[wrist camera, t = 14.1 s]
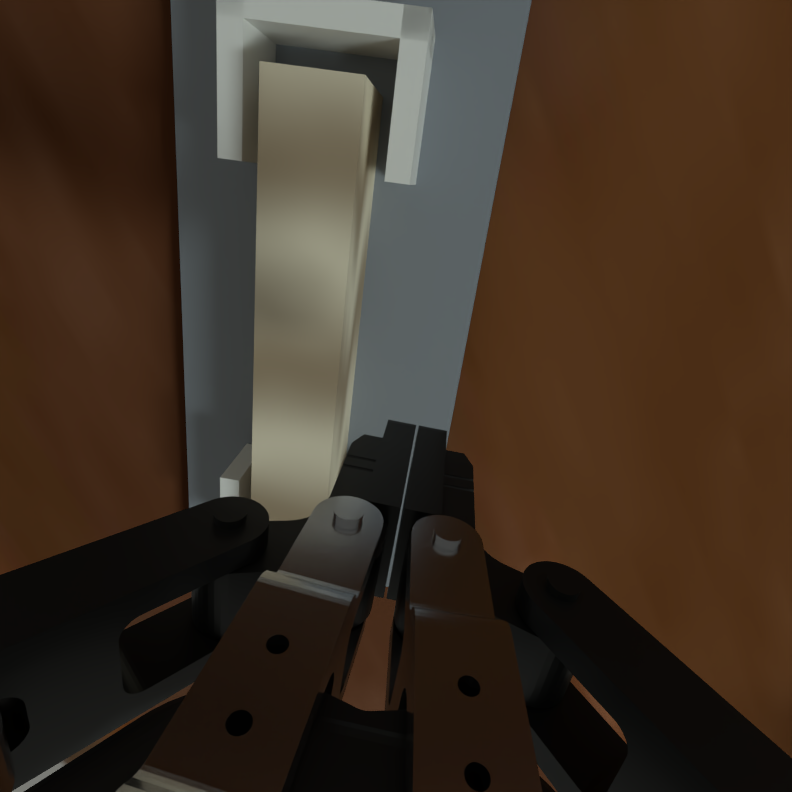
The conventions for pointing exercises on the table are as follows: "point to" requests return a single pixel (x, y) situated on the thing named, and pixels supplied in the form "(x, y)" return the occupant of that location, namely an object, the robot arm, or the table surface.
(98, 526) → the table surface
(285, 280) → the slat
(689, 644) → the table surface
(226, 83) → the cap board
